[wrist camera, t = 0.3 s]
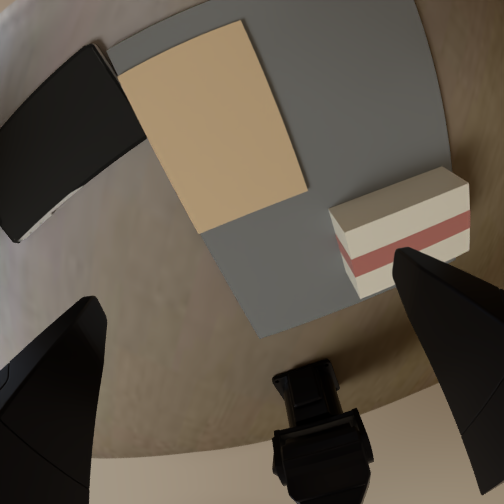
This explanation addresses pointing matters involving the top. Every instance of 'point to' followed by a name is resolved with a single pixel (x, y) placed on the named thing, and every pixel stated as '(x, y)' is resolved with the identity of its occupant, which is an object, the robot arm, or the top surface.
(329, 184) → the mat
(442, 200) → the card box
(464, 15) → the top surface
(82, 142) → the smartphone
